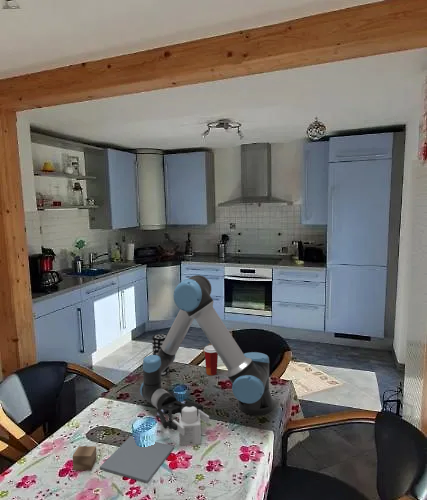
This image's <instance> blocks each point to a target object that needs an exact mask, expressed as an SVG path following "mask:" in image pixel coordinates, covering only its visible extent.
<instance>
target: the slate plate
mask: <svg viewBox="0 0 427 500" xmlns="http://www.w3.org/2000/svg"><path fill="white" fill-rule="evenodd" d="M133 436H134V435H130V436H129V437H128V438H127V439H126V440H125V441H124V442H123V443H122V444H121V445H120V446H119V447H118V448H117V449H116V450H115V451H114V452H113V453H112V454H111V455H110V456H109V457H108V458H107V459H106V460H105V461H104V462H103V463H102V464H101V465H100V466H99V470H101V471H105V472H108V473H112V474H115V475H119V476H122V477H125V478H129V479H132V480H136V481H138V482H142V483H146V484H149V482H150V481H151V479H152V478H153V477H154V475H155V474H156V473H157V471H158V470H159V469H160V468H161V467H162V465H163V463H164V462H166V460H167V458H168V457H169V456H170V455H171V453H172V452H173V451H174V450H175V446H174V445H171V444H168V443H163V442H159V441H155V444H154V445H151V446H148V447H139V446H137V445H136V443H135V440H134V438H133Z"/></svg>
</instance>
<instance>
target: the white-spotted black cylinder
mask: <svg viewBox="0 0 427 500" xmlns="http://www.w3.org/2000/svg"><path fill="white" fill-rule="evenodd" d="M166 336H167V333H166V334H164V333H158V334H154V335H152V338H151V339H152V342H151V343H152V355H157V354H158V352H159V350H160V348H161V346H162V344H163V342H164V340H165V338H166ZM169 374H170V365H169V366H168V367H167V368H166V369H165V370H164V371H163V372H162V373H161V378H162V377H166V376H168V375H169Z"/></svg>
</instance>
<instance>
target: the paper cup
mask: <svg viewBox="0 0 427 500" xmlns="http://www.w3.org/2000/svg"><path fill="white" fill-rule="evenodd" d="M203 351H204V361H205V373H206V375H207V376H216V375H217V372H218V361H219V360H218V359H219V358H218V357H219V355H218V354H217V352H216V350H215V349H214V347H213V346H212V344H210V345H206V346H205V347H204V348H203Z"/></svg>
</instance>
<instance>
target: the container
mask: <svg viewBox="0 0 427 500" xmlns="http://www.w3.org/2000/svg"><path fill="white" fill-rule="evenodd" d="M192 402H193V401H191V402H188V403H185V404H183V405H182V406H181V413H180V414H179V420H178V423H179V424H181V425H182V426H183V427H184V430H185V435H181V434H180V433H179V432H178V436H179V437H178V438H179V442H178V443H179V446H192V445H193V446H194V445H201V443H202V434H201V433H202V431H201V430H202V428H201V427H202V425H201V419H200V414H199V413H198V405H197V404H198V403H197V402H194V403H192ZM196 403H197V404H196Z"/></svg>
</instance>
